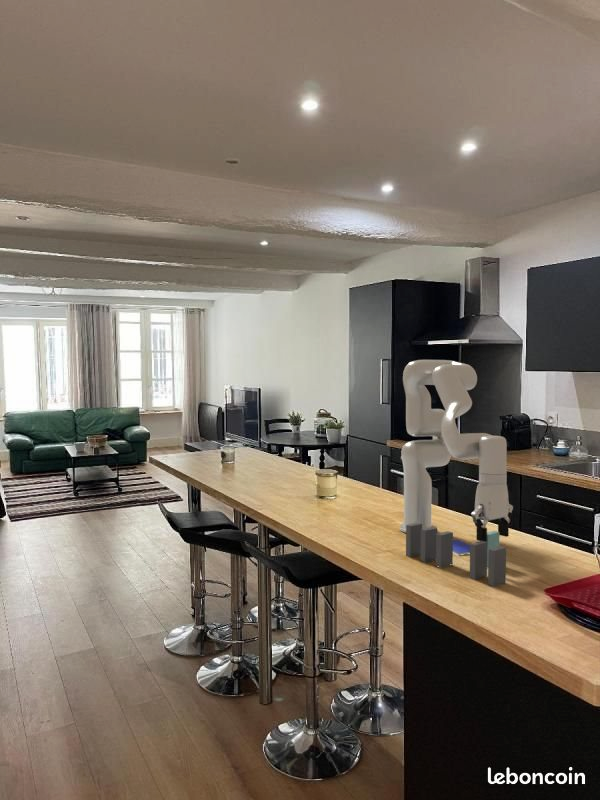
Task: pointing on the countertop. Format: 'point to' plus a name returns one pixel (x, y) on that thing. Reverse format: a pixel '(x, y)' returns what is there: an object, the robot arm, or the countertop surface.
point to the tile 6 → (497, 566)
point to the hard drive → (460, 547)
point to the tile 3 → (444, 549)
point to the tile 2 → (428, 544)
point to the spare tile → (492, 541)
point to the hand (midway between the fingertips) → (492, 538)
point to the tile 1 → (413, 539)
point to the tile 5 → (478, 560)
